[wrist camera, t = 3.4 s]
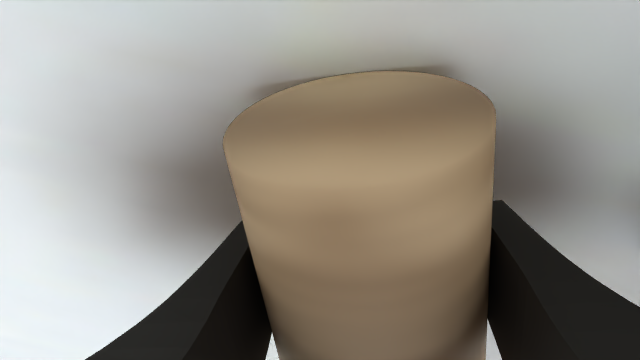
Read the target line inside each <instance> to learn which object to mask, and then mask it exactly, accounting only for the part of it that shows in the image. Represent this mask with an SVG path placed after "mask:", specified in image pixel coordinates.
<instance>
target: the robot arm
mask: <svg viewBox="0 0 640 360" xmlns="http://www.w3.org/2000/svg"><path fill="white" fill-rule="evenodd" d="M487 318H488V321H489V324H490V326H491V329H492V332H493V335H494V338H495V340H496V343H497V346H498V349H499V352H500V354H501V357H502V360H640V307H639V306H637V305H635V304H633V303H632V302H630V301H628V300H627V299H625V298H623V297H622V296H620V295H619V294H617V293H616V292H614V291H612V290H611V289H609V288H608V287H606V286H605V285H603V284H601V283H600V282H599V281H597V280H596V279H594V278H593V277H591V276H590V275H588V274H587V273H586V272H584V271H583V270H582V269H580V268H579V267H578V266H576V265H575V264H574V263H572V262H571V261H570V260H568V259H567V258H566V257H565V256H563V255H562V254H561V253H560V252H559V251H557V250H556V249H555V248H554V247H553V246H551V245H550V244H549V243H548V242H547V241H546V240H544V239H543V238H542V237H541V236H540V235H539V234H538V233H536V232H535V231H534V230H533V229H532V228H531V227H530V226H529V225H528V224H527V223H526V222H525V221H523V220H522V219H521V218H520V217H519V216H518V215H517V214H516V213H515V212H514V211H513V210H512V209H511V208H510V207H509V206H508V205H507V204H505V203H504V202H503V201H502V200H498V201H493V203H492V225H491V248H490V270H489V292H488V314H487ZM271 334H272V329H271V326H270V322H269V318H268V314H267V311H266V307H265V303H264V299H263V296H262V292H261V288H260V284H259V281H258V277H257V273H256V269H255V266H254V262H253V258H252V254H251V251H250V247H249V243H248V239H247V235H246V232H245V228H244V224H243V220H242V221H241V222H240V223H239V224H238V226H237V227H236V228H235V229H234V230H233V231H232V232H231V233H230V235H229V236H228V237H227V238H226V239H225V240H224V241H223V243H222V244H221V245H220V246H219V247H218V248H217V249H216V250H215V252H214V253H213V254H212V255H211V256H210V257H209V258H208V259H207V260H206V261H205V262H204V264H203V265H202V266H201V267H200V268H199V269H198V270H197V271H196V272H195V273H194V274H193V275H192V276H191V277H190V278H189V279H188V280H187V281H186V282H185V283H184V284H183V285H182V286H181V287H180V288H179V289H178V290H177V291H175V292H174V293H173V294H172V295H171V296H170V297H169V298H168V299H167V300H166V301H164V302H163V303H162V304H161V305H160V306H159V307H157V308H156V309H155V310H154V311H153V312H151V313H150V314H149V315H148V316H147V317H145V318H144V319H143V320H142V321H140V322H139V323H138V324H136V325H135V326H134V327H132V328H131V329H129V330H128V331H127V332H125V333H124V334H122V335H121V336H120V337H118V338H117V339H115V340H114V341H113V342H111V343H110V344H108V345H107V346H106V347H104V348H103V349H101V350H99V351H98V352H96V353H95V354H93V355H92V356H90V357H88V358H87V359H85V360H265V359H266V355H267V351H268V347H269V342H270V338H271Z"/></svg>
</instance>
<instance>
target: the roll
mask: <svg viewBox="0 0 640 360" xmlns="http://www.w3.org/2000/svg"><path fill="white" fill-rule="evenodd" d="M495 137H496V110H495V108H494V105H493V103H492V102H491V101H490V99H489V98H488V97H487V96H486V95H485V94H483V93H482V92H481V91H480V90H478V89H476V88H474V87H473V86H471V85H468V84H466V83H464V82H461V81H458V80H455V79H452V78H448V77H444V76H440V75H434V74H428V73H420V72H408V71H374V72H361V73H352V74H344V75H338V76H332V77H327V78H322V79H318V80H314V81H310V82H306V83H303V84H299V85H296V86H293V87H290V88H287V89H285V90H282V91H279V92H277V93H275V94H272V95H270V96H268V97H266V98H264V99H262V100H260V101H258V102H257V103H255V104H253V105H252V106H250V107H249V108H247V109H246V110H244V111H243V112H242V113H241V114H240V115H238V116H237V117H236V118H235V119H234V120H233V122H232V123H231V124H230V125H229V127H228V128H227V130H226V132H225V135H224V137H223V148H224V153H225V157H226V160H227V164H228V168H229V172H230V175H231V179H232V183H233V187H234V190H235V194H236V198H237V202H238V205H239V209H240V213H241V217H242V220H243V224H244V228H245V232H246V235H247V239H248V243H249V247H250V251H251V254H252V258H253V262H254V266H255V269H256V273H257V277H258V281H259V284H260V288H261V292H262V296H263V299H264V303H265V307H266V311H267V314H268V318H269V322H270V326H271V329H272V333H273V337H274V341H275V344H276V348H277V352H278V356H279V359H280V360H485V359H486V336H487V314H488V292H489V270H490V248H491V225H492V203H493V181H494V159H495Z"/></svg>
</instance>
